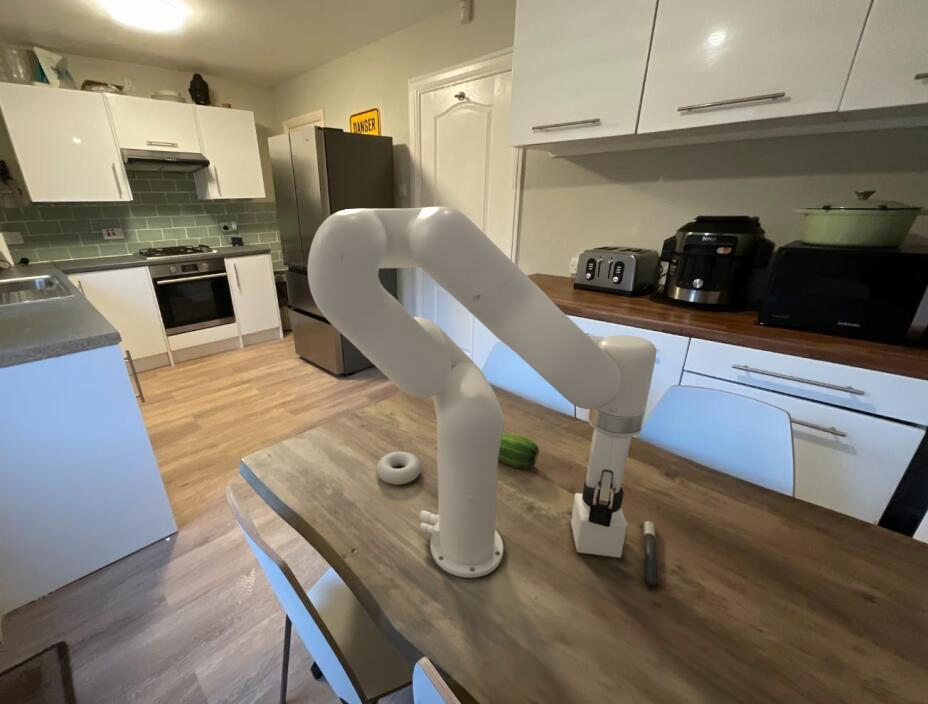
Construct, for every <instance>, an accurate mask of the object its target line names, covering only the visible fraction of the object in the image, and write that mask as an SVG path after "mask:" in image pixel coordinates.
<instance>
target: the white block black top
mask: <svg viewBox="0 0 928 704" xmlns="http://www.w3.org/2000/svg"><path fill="white" fill-rule="evenodd" d="M601 484H602V482H600V481H599V482H598V485H601ZM610 488H612V484H611V485H610ZM600 491H601V490H598V496H599V497H600ZM594 492H595V487H594V488H592V487H588V486H587V485H586V480H585V481H584V483H583V490H582V493H579V492H576V493H575V494H574V500H573V505H572V506H573V507H572V512H571V513H572V514H571V520H570V525H571V529H572V534H573V539H574V544H575V545H574V546H575V549H576V550H575V551H576V553H580V554H587V555H595V556H604V557H610V558H611V557H612V558H622V556H623V551H624V545H625V541H626V538H627V537H626V536H627V532H628V527H629V526H628V522H627V520H626V518H625V515H624V512H623V509H622V504H623V499H624V496H625V495H624V493H625V492H624V489H623V487H622V486H621V487H620V490H619V492H618V493H615V492H614V497H613V503H612V505H613V512H612V517H611V523H610V526H609V527H606V526H602V525H598V524H595V523H591V522H589V520H588V519H589V513H590V506H591V500H593V498H594ZM598 496H597V497H598ZM609 496H610V493H609Z"/></svg>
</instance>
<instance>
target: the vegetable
mask: <svg viewBox="0 0 928 704" xmlns="http://www.w3.org/2000/svg"><path fill="white" fill-rule="evenodd" d="M539 453H540V450H539V446H538V445H537V443H536V442H535V441H534V440H532V439H530V438H528V437H526V436H524V435H519V434H512V433H506V432H503V435H502V440H501V444H500V450H499V457H498V462H501V463H503V464H505V465H508V466H509V467H513V468H517V469H522V470H524V469H527V470H528V469H530V468H533V467H534V466H535V465H536V463H537V460H538V458H539V456H540V455H539Z"/></svg>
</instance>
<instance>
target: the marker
mask: <svg viewBox="0 0 928 704" xmlns="http://www.w3.org/2000/svg"><path fill="white" fill-rule="evenodd" d="M643 538H644V539H643V541H644V568H645V569H644V570H645V571H644V573H645V583H646V584H647V585H648V586H649V587H657V585H658V583H659V582H658V581H659V580H658V566H657V565H658V564H657V552H656V551H657V549H656V526H655V523H654V522H653V521H649V520H646V521H644V522H643Z"/></svg>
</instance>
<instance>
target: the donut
mask: <svg viewBox="0 0 928 704" xmlns="http://www.w3.org/2000/svg"><path fill="white" fill-rule="evenodd" d="M397 467H401V468H397ZM421 470H422V464H421V461H420V460H419V458H418V457H417V456H416V455H414V454H412V453H411V452H408V451H401V450H400V451H393V452H389V453H386V454H385V455H383V457H381V458H380V459H379V460H378V462H377V465H376V473H377V475H378V477H379V478H380V479H381V480H382V481H383V482H384V483H386V484H389V485H396V486H398V485H399V486H400V485H405V484H408V483H410V482H412V481H414V480H416V479H417V478H418V476H420V473H421Z"/></svg>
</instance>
